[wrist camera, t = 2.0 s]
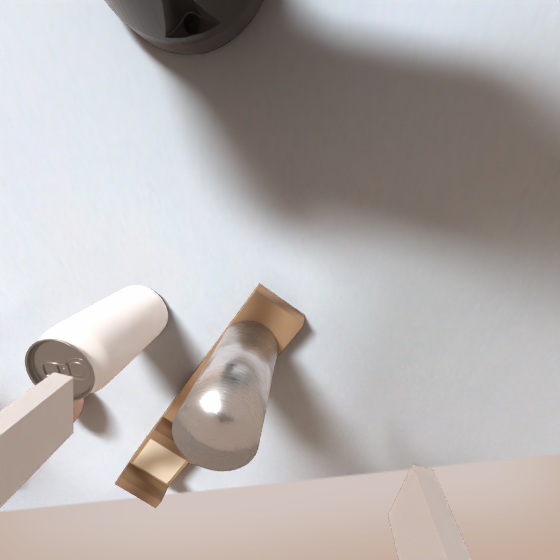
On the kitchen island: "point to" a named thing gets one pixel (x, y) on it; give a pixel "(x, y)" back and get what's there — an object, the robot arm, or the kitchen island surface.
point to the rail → (159, 443)
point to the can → (98, 340)
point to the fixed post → (229, 400)
